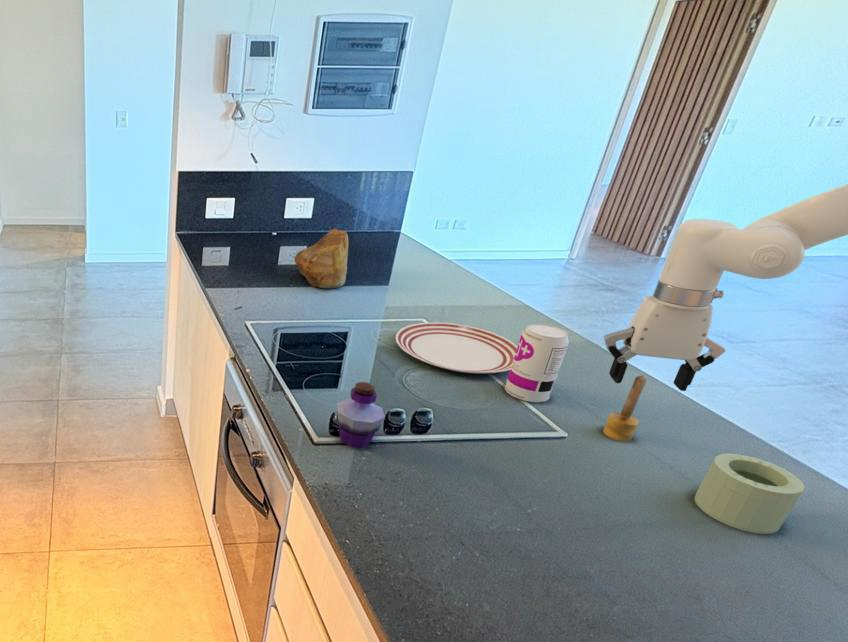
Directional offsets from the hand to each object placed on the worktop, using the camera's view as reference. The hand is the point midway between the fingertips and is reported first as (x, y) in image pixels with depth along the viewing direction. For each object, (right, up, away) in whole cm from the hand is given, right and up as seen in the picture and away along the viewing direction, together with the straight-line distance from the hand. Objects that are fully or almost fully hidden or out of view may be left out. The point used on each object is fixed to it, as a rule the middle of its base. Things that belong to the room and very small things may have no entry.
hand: (646, 383), depth 111 cm
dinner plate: (-16, +5, +36) cm, 40 cm away
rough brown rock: (-33, +31, +87) cm, 98 cm away
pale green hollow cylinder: (+1, -20, -15) cm, 25 cm away
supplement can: (-10, -3, +19) cm, 22 cm away
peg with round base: (-2, -10, +5) cm, 11 cm away
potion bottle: (-52, -11, +3) cm, 53 cm away
